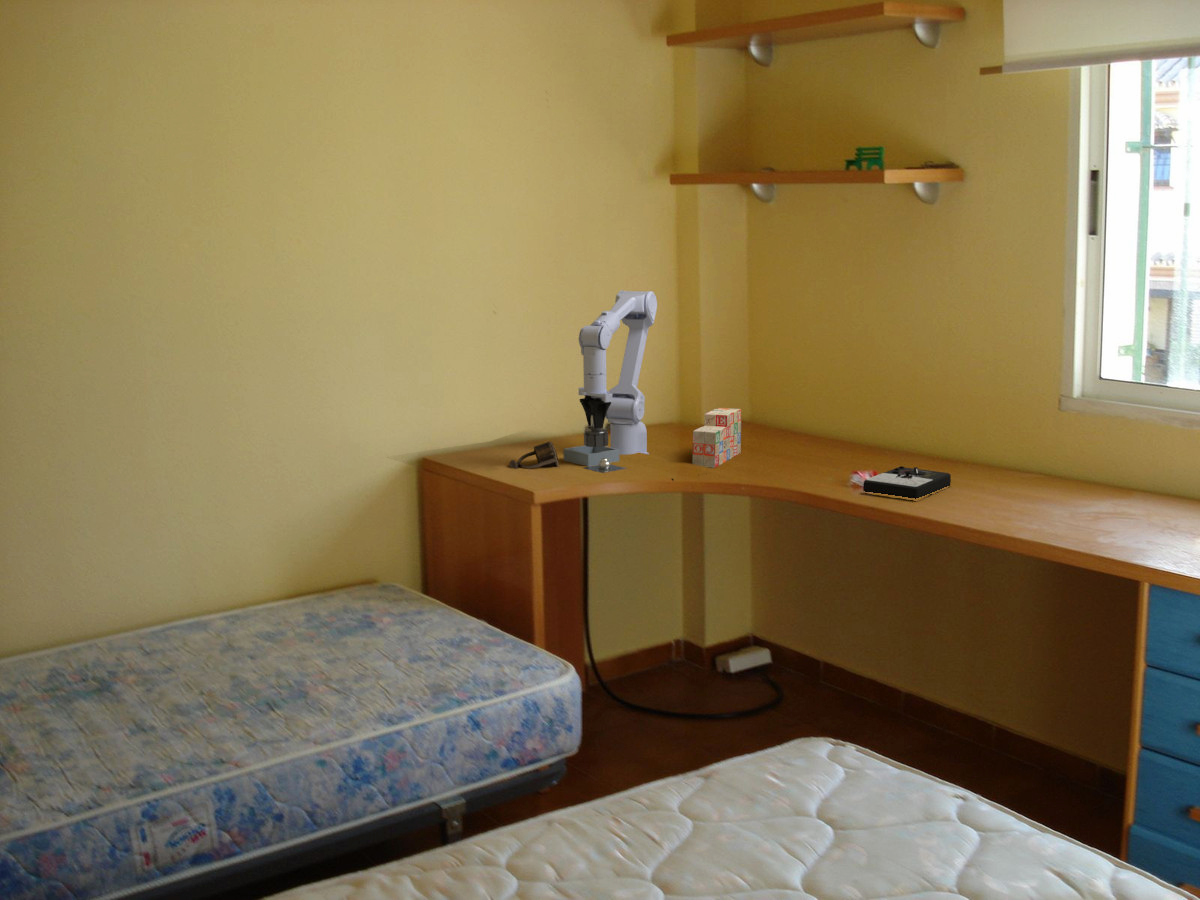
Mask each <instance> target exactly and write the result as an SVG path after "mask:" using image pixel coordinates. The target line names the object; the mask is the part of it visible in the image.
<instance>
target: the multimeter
mask: <svg viewBox="0 0 1200 900" xmlns="http://www.w3.org/2000/svg"><path fill="white" fill-rule="evenodd" d="M951 481H952V476H951V474H950V473H949V472H944V471H936V470H928V469H922V468H921V469H920V468H918V467H917V466H916V467H913V468H912V467H904V466H903V465H901V466H899V467H896V468H893V469H890V470H887V471H885V472H884V471H883V472H882V473H879V474H877V475H874V476H872V477H868V478H866V479H865V480H864V481H863V485H862V486H863V487H862V489H863V490H862V491H865V492H873V493H881V494H888V495H895V496H902V497H908V498H915V499H916V498H919V497H922V496H925V495H927V494H930V493H932V492H935V491H937V490H940V489H942V488H944V487H947V486H950V487H951Z"/></svg>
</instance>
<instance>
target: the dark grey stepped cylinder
mask: <svg viewBox="0 0 1200 900" xmlns="http://www.w3.org/2000/svg"><path fill="white" fill-rule="evenodd" d="M584 445H585V446H587V447H605V446H606V447H608V446H609V433H608V429H606V428H594V424H593V415H591V426H590V428H588V429H584V432H583V446H584Z"/></svg>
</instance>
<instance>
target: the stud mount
mask: <svg viewBox="0 0 1200 900" xmlns="http://www.w3.org/2000/svg"><path fill="white" fill-rule="evenodd" d="M583 469H585V470H588V471H592V472H598V473H601V474H604V473H605V474H606V473H610V472H615V471H620V470H627V469H628V468H627V467H623V466H620V465H619V466H618V465H614V464H611V463H610V461H608V459H607V458H602V459H601V461H599V465H594V466H584V467H583Z"/></svg>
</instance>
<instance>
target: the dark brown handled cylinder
mask: <svg viewBox="0 0 1200 900" xmlns="http://www.w3.org/2000/svg"><path fill="white" fill-rule="evenodd" d="M531 456H535V457H536V460H537V461H536V463H534V464H530V465H526V464H522V462H523V460H525V459H527V458H528V457H531ZM508 463H509V464H508V467H509V468H511V469H515V470H518V469H519V468H521V469H528V470H533V469H538V468H547V467H548V468H549V467H557V468H559V467H560V465H559V458H558V453H557V451H556V448H555V446H554V444H553V442H552V441H547V442H543V443H541V444H537V445H535V446H533V451H530V452H527V453H525V454H523V455H522V456H521V457H519V459H518V461H516V460H514V459H511V460H510V461H509V462H508Z"/></svg>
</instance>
